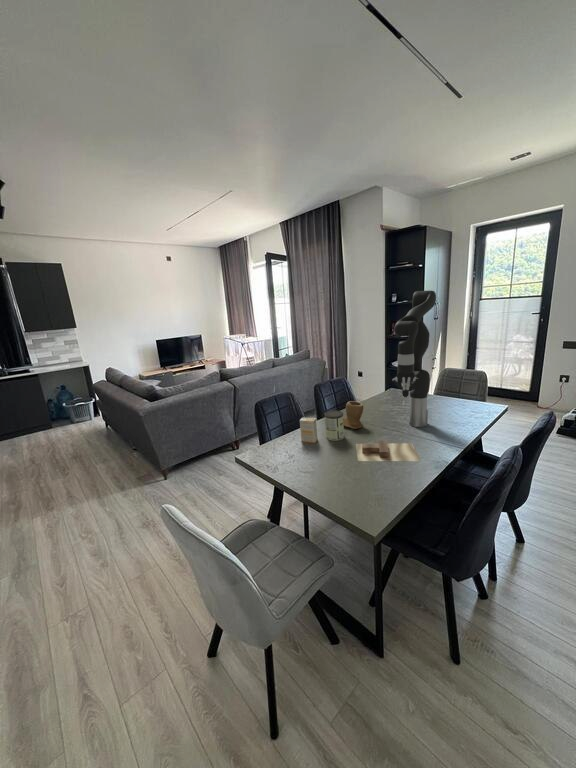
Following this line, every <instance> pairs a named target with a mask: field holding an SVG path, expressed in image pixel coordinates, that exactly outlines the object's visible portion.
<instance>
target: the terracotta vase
mask: <svg viewBox="0 0 576 768" xmlns="http://www.w3.org/2000/svg"><path fill="white" fill-rule="evenodd" d="M363 412H364V404H363V403H362V402H358V401H354V400H353V401H352V400H350V401H347V402H346V404H345V413H346V417H343V425H344V427H347V428H350V429H354V430H355V429H356V430H358V429H360V428H363V426H364V423H362V422H361V418H362V415H363Z"/></svg>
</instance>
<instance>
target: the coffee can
mask: <svg viewBox="0 0 576 768" xmlns="http://www.w3.org/2000/svg"><path fill="white" fill-rule="evenodd" d="M343 418H344V412H343V411H340V410H328V411H325V413H324V423H325V424H324V425H325V438H326V440H329V441H333V442H335V441H341V440H343V439H344V438H345V429H344V427H345V426H344V425H343Z"/></svg>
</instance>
